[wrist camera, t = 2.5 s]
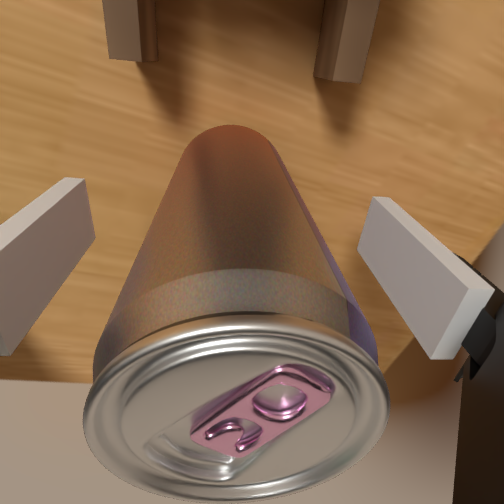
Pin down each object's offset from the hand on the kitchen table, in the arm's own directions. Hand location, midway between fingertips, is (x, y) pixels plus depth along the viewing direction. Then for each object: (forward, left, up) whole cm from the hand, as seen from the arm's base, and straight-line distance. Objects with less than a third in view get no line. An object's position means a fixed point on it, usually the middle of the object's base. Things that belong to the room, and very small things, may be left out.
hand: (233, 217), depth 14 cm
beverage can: (0, 0, -6) cm, 6 cm away
